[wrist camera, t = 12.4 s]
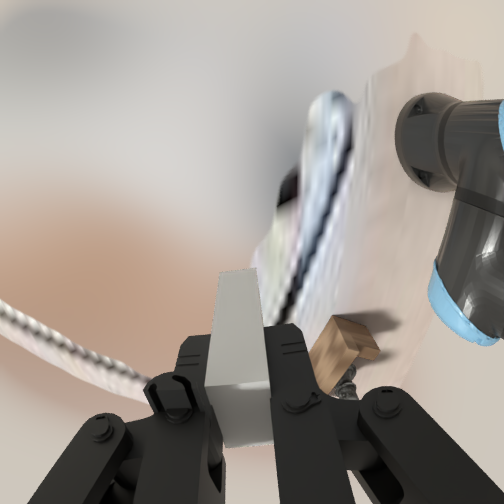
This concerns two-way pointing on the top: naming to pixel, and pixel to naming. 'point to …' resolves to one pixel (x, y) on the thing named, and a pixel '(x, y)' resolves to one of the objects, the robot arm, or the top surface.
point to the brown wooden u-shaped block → (340, 350)
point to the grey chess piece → (347, 385)
